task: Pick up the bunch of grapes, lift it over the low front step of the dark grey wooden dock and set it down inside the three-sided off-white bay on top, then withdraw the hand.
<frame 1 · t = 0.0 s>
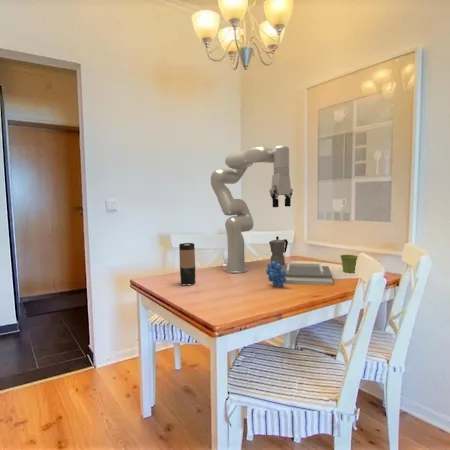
hand: (281, 206, 168), 37 cm above the table, tool pointing down, fingers open, 9 cm apart
travel mug: (188, 284, 170), on the table
grapes: (274, 287, 161), on the table
plant pot: (348, 272, 187), on the table
dock: (304, 276, 179), on the table
coffeepot: (278, 265, 207), on the table
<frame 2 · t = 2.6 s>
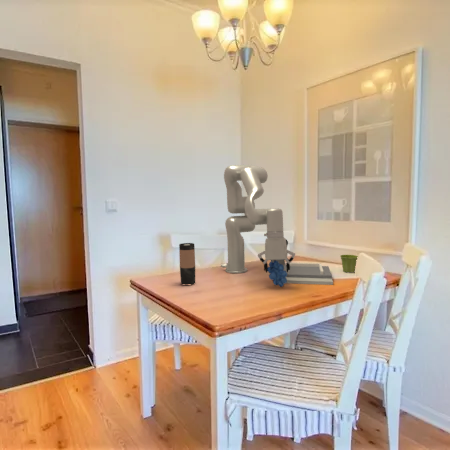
hand: (277, 271, 158), 8 cm above the table, tool pointing down, fingers open, 9 cm apart
grapes: (274, 286, 161), on the table, touching gripper
everything else where it was.
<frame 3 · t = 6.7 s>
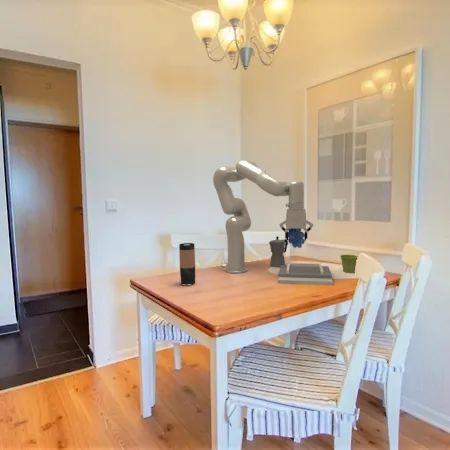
hand: (296, 240, 173), 20 cm above the table, tool pointing down, fingers closed on grapes, 8 cm apart
grapes: (293, 248, 175), point 16 cm above the table, touching gripper
everything else where it was.
when the fingers open (8 cm above the table, at t = 10.3 s): grapes stays where it is, resting on dock.
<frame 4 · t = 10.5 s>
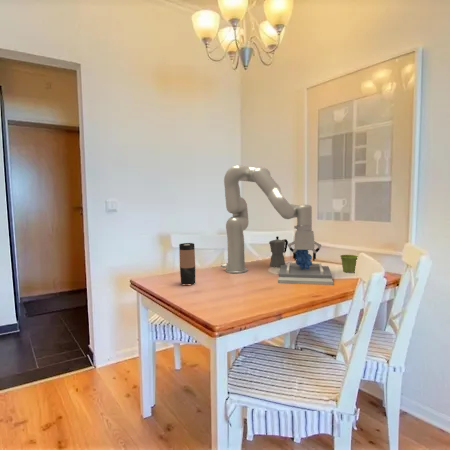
hand: (304, 260, 180), 8 cm above the table, tool pointing down, fingers open, 9 cm apart
grapes: (301, 269, 182), point 3 cm above the table, touching dock, gripper
everything else where it was.
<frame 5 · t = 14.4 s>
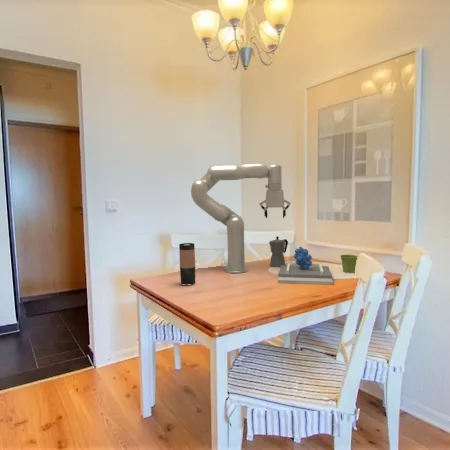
hand: (275, 217, 191), 30 cm above the table, tool pointing down, fingers open, 9 cm apart
grapes: (301, 269, 182), point 3 cm above the table, touching dock
everything else where it was.
at the end: grapes inside the target area on the dock (2.0 cm from its centre), point 2.8 cm above the dock's base; grapes touching dock; the gripper is holding nothing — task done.
